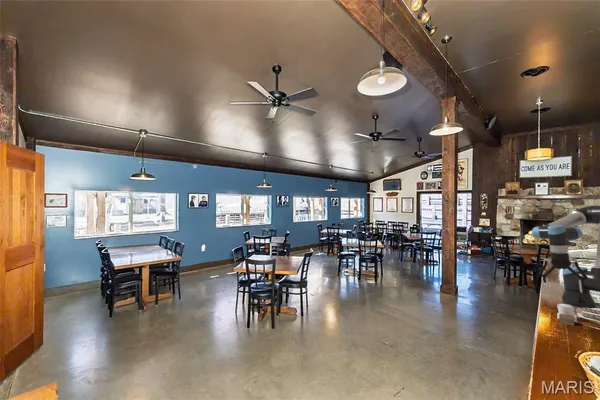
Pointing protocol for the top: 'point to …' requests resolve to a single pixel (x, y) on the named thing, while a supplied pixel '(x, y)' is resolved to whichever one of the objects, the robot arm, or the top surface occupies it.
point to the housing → (566, 319)
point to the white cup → (565, 309)
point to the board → (574, 317)
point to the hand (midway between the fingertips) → (564, 290)
